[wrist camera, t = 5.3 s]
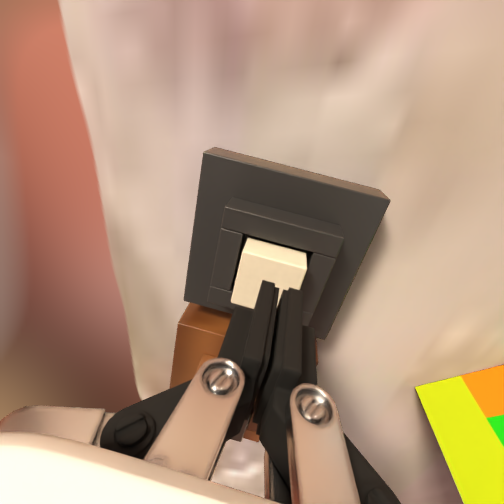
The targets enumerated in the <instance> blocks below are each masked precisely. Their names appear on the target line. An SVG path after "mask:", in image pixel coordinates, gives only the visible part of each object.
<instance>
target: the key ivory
mask: <svg viewBox="0 0 504 504" xmlns="http://www.w3.org/2000/svg"><path fill="white" fill-rule="evenodd" d="M306 271H307V257H306V253H305V252H301V251H298V250H294V249H290V248H286V247H283V246H279V245H275V244H271V243H268V242H264V241H260V240H257V239H253V238H248V239H247V241H246V244H245V246H244V249H243V251H242V255H241V259H240V263H239V268H238V272H237V276H236V280H235V285H234V289H233V293H232V298H231V303H234V304H237V305H241V306H244V307H248V308H252V309H254V307H255V304H256V300H257V297H258V293H259V290H260V286H261V283H262V280H265V281H269V282H273V283H275V287H277V288H279V296H278V303H279V300H280V297H281V294H282V291H283V289H284V290H288V289H289V287H290V288H294V289H297V290H300V287H301V285H302V282H303V279H304V277H305V274H306ZM278 303H277V306H278Z"/></svg>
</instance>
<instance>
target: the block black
mask: <svg viewBox="0 0 504 504" xmlns="http://www.w3.org/2000/svg"><path fill="white" fill-rule="evenodd" d="M389 203H390V199H389V198H388V197H387V196H386V195H385V194H384V193H382V192H381V191H380V190H379V189H375V188H371V187H367V186H363V185H359V184H356V183H352V182H348V181H344V180H340V179H336V178H332V177H329V176H325V175H321V174H317V173H313V172H309V171H305V170H302V169H298V168H294V167H290V166H286V165H282V164H278V163H275V162H271V161H267V160H263V159H259V158H255V157H251V156H248V155H244V154H240V153H236V152H232V151H228V150H224V149H221V148H217V147H214V148H212V149H209V150H207V151H204V153H203V159H202V166H201V174H200V181H199V189H198V196H197V204H196V211H195V219H194V226H193V234H192V241H191V248H190V256H189V263H188V271H187V278H186V286H185V293H184V301H187V302H190V303H194V304H198V305H201V306H205V307H208V308H212V309H216V310H219V311H223V312H227V313H230V314H233V312H234V309H235V306H239V307H242V308H246V309H249V310H253V311H254V309H252V308H248V307H244V306H241V305H237V304H234V303H231V298H232V293H233V289H234V285H235V280H236V276H237V272H238V268H239V263H240V259H241V255H242V251H243V249H244V246H245V244H246V241H247V239H248V238H253V239H257V240H260V241H264V242H268V243H271V244H275V245H279V246H283V247H286V248H290V249H294V250H298V251H301V252H305V253H306V257H307V271H306V274H305V277H304V279H303V282H302V285H301V287H300V290H301V291H303V312H302V325H305V326H309V327H312V328H314V329H315V337H317V338H320V339H324V340H325V339H326V337H327V335H328V333H329V330H330V328H331V326H332V324H333V322H334V320H335V318H336V316H337V313H338V311H339V309H340V307H341V305H342V303H343V301H344V299H345V297H346V294H347V292H348V290H349V288H350V286H351V284H352V282H353V280H354V277H355V275H356V273H357V271H358V269H359V267H360V265H361V263H362V260H363V258H364V256H365V254H366V252H367V250H368V248H369V246H370V244H371V241H372V239H373V237H374V235H375V233H376V231H377V229H378V227H379V224H380V222H381V220H382V218H383V216H384V214H385V212H386V210H387V207H388V205H389Z"/></svg>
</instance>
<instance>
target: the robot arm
mask: <svg viewBox="0 0 504 504" xmlns="http://www.w3.org/2000/svg"><path fill="white" fill-rule="evenodd" d="M278 296H279V288H277V287H275V283H273V282H269V281H265V280H262V283H261V286H260V290H259V293H258V297H257V300H256V304H255V307H254V311H253V310H249V309H246V308H242V307H239V306H235V309H234V312H233V314H232V317H231V320H230V323H229V326H228V329H227V332H226V334H225V337H224V340H223V343H222V346H221V349H220V352H219V354H218V357H217V358H213V359H210V360H208V361H206V362H205V363H203V365H202V366H201V367H200V368H199V370H198V371H197V373H196V375H195V376H194V378H193V379H191V380H189V381H187V382H185V383H182V384H180V385H178V386H175V387H173V388H171V389H168V390H166V391H164V392H161V393H159V394H157V395H154V396H152V397H150V398H147V399H145V400H143V401H140V402H138V403H136V404H133V405H131V406H129V407H127V408H124V409H122V410H121V411H119V412H117V413H105V409H94V408H75V407H57V406H38V405H34V406H25V407H23V408H20V409H17V410H15V411H13V412H12V413H10V414H9V415H7V416H6V417H4V418H3V419H2V420H1V421H0V504H401V503H400V501H399V500H398V498H397V497H396V495H395V494H394V493H393V491H392V490H391V489H390V488H389V487H388V485H387V484H386V483H385V482H384V481H383V479H382V478H381V477H380V476H379V475H378V473H377V472H376V471H375V470H374V469H373V467H372V466H371V465H370V464H369V463H368V461H367V460H366V459H365V458H364V457H363V455H362V454H361V453H360V452H359V451H358V449H357V448H356V447H355V446H354V445H353V443H352V442H351V441H350V440H349V439H348V437H347V436H346V435H345V434H344V433H343V430H342V426H341V422H340V418H339V414H338V410H337V407H336V404H335V402H334V400H333V399H332V398H331V396H330V395H329V394H328V393H327V392H326V391H325V390H324V389H322V388H320V387H319V386H317V370H316V345H315V329H314V328H312V327H309V326H305V325H302V312H303V291H301V290H297V289H294V288H290V287H289V289H288V290H284V289H283V291H282V294H281V297H280V300H279V303H278ZM277 303H278V306H277ZM255 399H256V401H255ZM254 402H255V407H254V413H253V419H252V422H253V423H256V424H257V429H256V435H259V440H260V441H261V443H262V445H263V446H264V448H265V455H264V480H265V498H262V497H259V496H256V495H252V494H249V493H246V492H243V491H240V490H237V489H234V488H230V487H227V486H224V485H221V484H218V483H215V482H211V480H212V477H213V475H214V472H215V470H216V467H217V464H218V462H219V459H220V457H221V454H222V452H223V449H224V447H225V444H226V441H228V440H229V439H231V438H233V437H234V436H236V435H237V434H239V433H240V431H241V428H242V426H243V423H244V420H246V421H248V418H249V416H250V413H251V410H252V408H253V405H254Z"/></svg>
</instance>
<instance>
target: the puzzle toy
mask: <svg viewBox="0 0 504 504" xmlns="http://www.w3.org/2000/svg"><path fill="white" fill-rule="evenodd" d="M415 389H416V391H417V393H418V396H419V398H420V400H421V403H422V405H423V408H424V410H425V412H426V415H427V417H428V420H429V422H430V424H431V427H432V429H433V431H434V434H435V436H436V439H437V441H438V443H439V446H440V448H441V451H442V453H443V455H444V458H445V460H446V462H447V465H448V467H449V470H450V472H451V474H452V477H453V479H454V482H455V484H456V486H457V489H458V491H459V493H460V496H461V498H462V501H463V503H464V504H504V365H501V366H497V367H493V368H489V369H485V370H481V371H477V372H473V373H469V374H465V375H461V376H457V377H453V378H449V379H445V380H441V381H437V382H433V383H429V384H425V385H421V386H417V387H415Z"/></svg>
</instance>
